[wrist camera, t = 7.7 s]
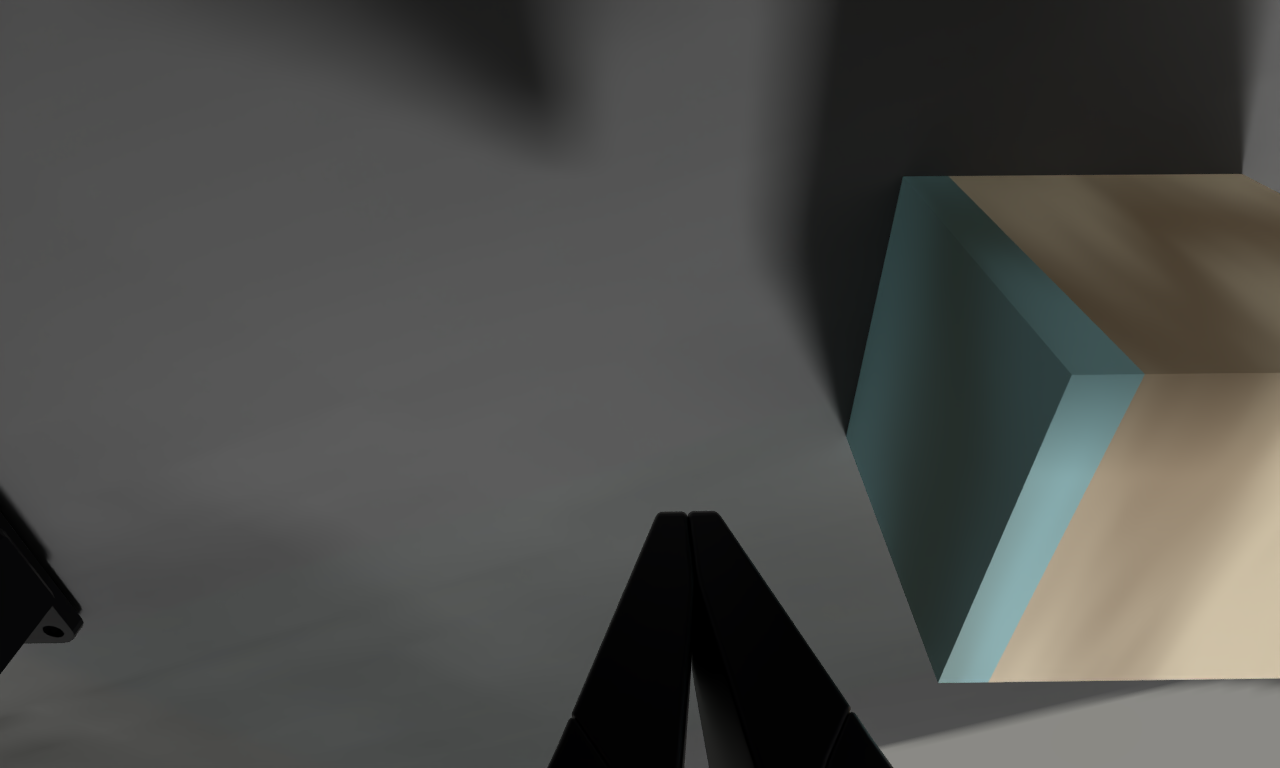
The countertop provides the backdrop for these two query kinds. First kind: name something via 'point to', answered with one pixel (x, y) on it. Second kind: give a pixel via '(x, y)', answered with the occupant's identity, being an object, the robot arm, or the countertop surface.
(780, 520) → the countertop surface
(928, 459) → the maple cube
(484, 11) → the countertop surface
